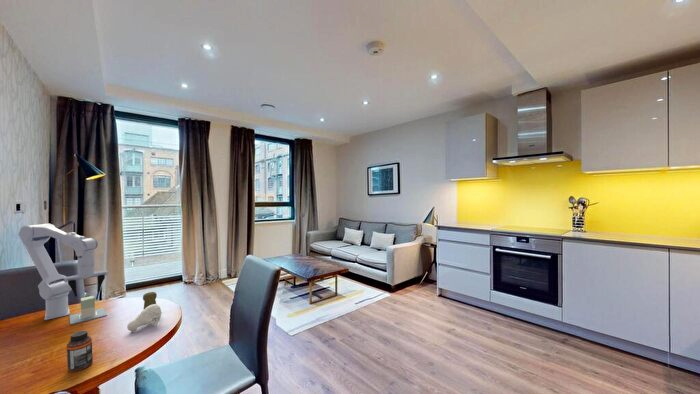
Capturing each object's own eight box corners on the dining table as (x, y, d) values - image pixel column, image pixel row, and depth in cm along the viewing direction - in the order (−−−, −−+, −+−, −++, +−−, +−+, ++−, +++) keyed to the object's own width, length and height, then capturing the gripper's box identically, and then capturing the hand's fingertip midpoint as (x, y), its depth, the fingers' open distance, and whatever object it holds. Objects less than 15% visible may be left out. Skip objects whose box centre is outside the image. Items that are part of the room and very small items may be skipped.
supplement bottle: (70, 365, 93) (69, 331, 92) (94, 359, 96) (93, 326, 96) (64, 375, 88) (63, 339, 87) (90, 368, 91) (89, 334, 90)
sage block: (80, 306, 129) (80, 298, 129) (94, 303, 133) (93, 295, 132) (81, 309, 126) (81, 300, 126) (94, 306, 129) (94, 298, 129)
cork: (150, 320, 125) (149, 295, 125) (138, 318, 126) (138, 294, 126) (161, 314, 131) (160, 290, 131) (150, 313, 132) (150, 290, 132)
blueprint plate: (69, 316, 129) (69, 315, 129) (104, 308, 138) (104, 307, 138) (70, 324, 121) (70, 323, 121) (106, 315, 130) (106, 314, 130)
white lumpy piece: (162, 304, 121) (129, 317, 111) (164, 322, 122) (132, 337, 112) (155, 301, 124) (122, 313, 114) (157, 319, 125) (125, 333, 115)
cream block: (81, 315, 129) (81, 306, 129) (94, 312, 133) (94, 303, 133) (81, 318, 126) (81, 309, 126) (95, 315, 130) (94, 306, 129)
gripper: (63, 269, 121) (65, 300, 121) (108, 263, 131) (108, 291, 132) (64, 266, 126) (65, 296, 126) (106, 260, 136) (107, 288, 137)
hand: (87, 293), depth 129 cm, fingers open, 7 cm apart
